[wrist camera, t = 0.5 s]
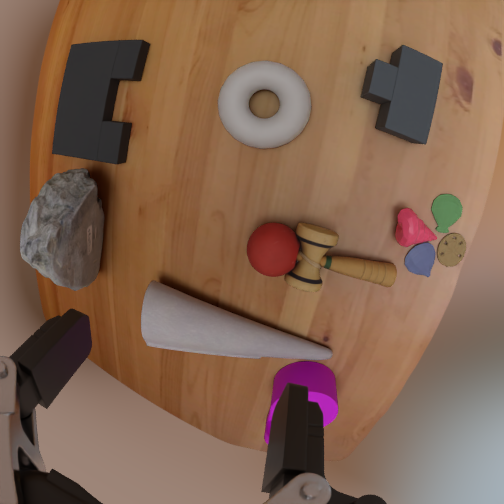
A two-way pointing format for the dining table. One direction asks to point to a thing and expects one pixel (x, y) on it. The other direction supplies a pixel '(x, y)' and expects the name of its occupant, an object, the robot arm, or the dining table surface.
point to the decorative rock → (65, 230)
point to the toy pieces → (431, 236)
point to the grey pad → (404, 93)
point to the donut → (269, 129)
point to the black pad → (96, 99)
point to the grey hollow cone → (215, 329)
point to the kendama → (308, 257)
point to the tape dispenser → (318, 385)
